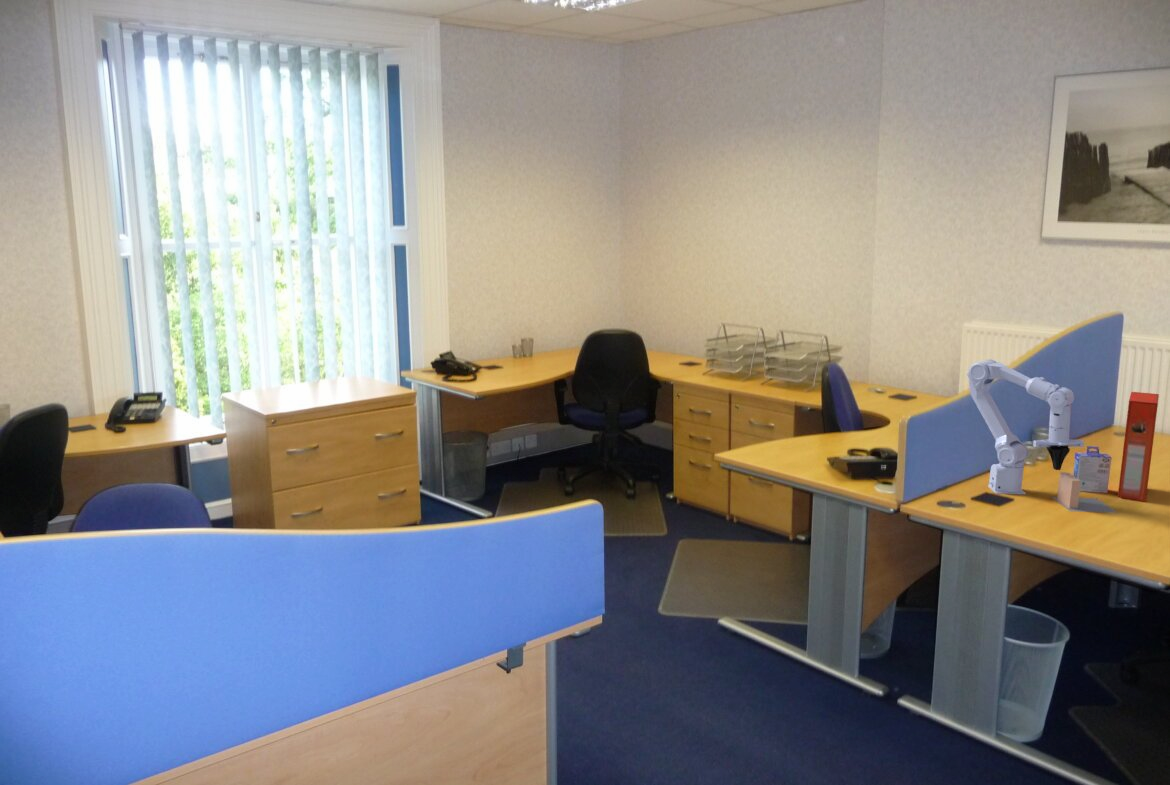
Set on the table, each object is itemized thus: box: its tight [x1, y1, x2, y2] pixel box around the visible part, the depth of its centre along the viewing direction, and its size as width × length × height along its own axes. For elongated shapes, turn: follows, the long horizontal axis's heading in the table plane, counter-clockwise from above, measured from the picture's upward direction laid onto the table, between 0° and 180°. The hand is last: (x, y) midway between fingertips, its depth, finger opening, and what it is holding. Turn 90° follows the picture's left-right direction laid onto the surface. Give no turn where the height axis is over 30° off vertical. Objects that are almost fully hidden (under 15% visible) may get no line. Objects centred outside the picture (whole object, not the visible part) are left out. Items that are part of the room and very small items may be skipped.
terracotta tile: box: [1056, 471, 1081, 509], centre depth 289 cm, size 2×9×9 cm, turn 175°
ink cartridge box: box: [1072, 445, 1112, 494], centre depth 304 cm, size 10×6×14 cm, turn 78°
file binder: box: [1117, 391, 1160, 503], centre depth 299 cm, size 8×17×32 cm, turn 148°
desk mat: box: [1051, 496, 1118, 514], centre depth 290 cm, size 14×14×1 cm
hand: (1056, 469), depth 292 cm, fingers closed
